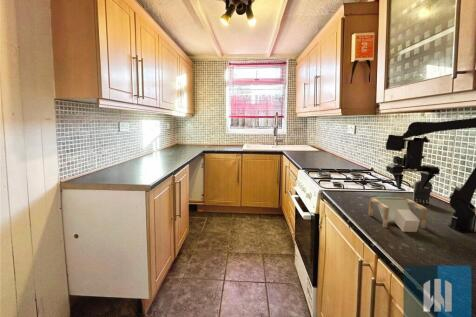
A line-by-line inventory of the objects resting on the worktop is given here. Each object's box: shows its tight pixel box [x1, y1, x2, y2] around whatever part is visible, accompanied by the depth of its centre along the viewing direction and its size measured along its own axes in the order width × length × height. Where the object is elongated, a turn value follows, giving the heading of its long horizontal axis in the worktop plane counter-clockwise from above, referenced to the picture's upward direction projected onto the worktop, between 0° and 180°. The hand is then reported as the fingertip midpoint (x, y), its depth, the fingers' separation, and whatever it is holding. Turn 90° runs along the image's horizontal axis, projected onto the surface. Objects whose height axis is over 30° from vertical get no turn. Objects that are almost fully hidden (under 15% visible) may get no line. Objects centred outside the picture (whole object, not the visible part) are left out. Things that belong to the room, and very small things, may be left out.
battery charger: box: [412, 179, 433, 205], centre depth 133 cm, size 7×4×11 cm, turn 73°
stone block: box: [394, 209, 420, 233], centre depth 103 cm, size 5×5×7 cm
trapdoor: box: [377, 199, 412, 223], centre depth 111 cm, size 10×12×1 cm
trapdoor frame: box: [367, 196, 428, 229], centre depth 110 cm, size 13×15×8 cm
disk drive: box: [372, 194, 398, 198], centre depth 133 cm, size 10×3×15 cm
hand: (409, 189), depth 114 cm, fingers open, 9 cm apart
